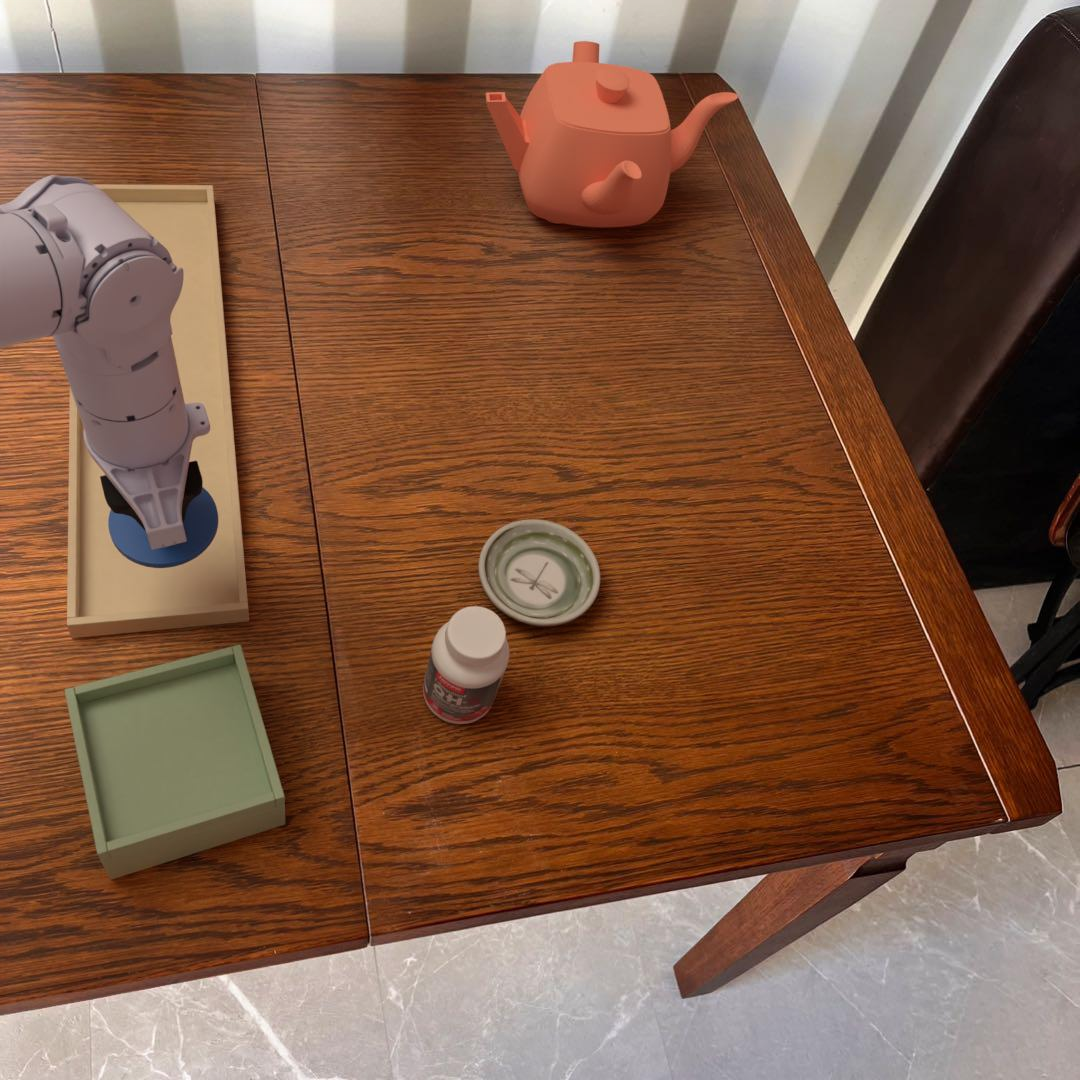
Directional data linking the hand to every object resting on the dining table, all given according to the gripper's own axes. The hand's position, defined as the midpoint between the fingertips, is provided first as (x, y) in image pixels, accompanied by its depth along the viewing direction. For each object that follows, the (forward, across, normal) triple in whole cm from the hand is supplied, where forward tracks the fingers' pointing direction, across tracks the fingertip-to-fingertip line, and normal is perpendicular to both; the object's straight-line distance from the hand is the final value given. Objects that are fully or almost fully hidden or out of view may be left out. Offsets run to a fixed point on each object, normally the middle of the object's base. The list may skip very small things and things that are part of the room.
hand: (160, 510), depth 72 cm
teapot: (+14, +35, -49) cm, 61 cm away
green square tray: (+10, -14, +3) cm, 18 cm away
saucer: (+12, -7, -26) cm, 29 cm away
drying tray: (+11, +19, -2) cm, 22 cm away
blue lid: (+2, 0, 0) cm, 2 cm away
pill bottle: (+11, -14, -17) cm, 25 cm away
